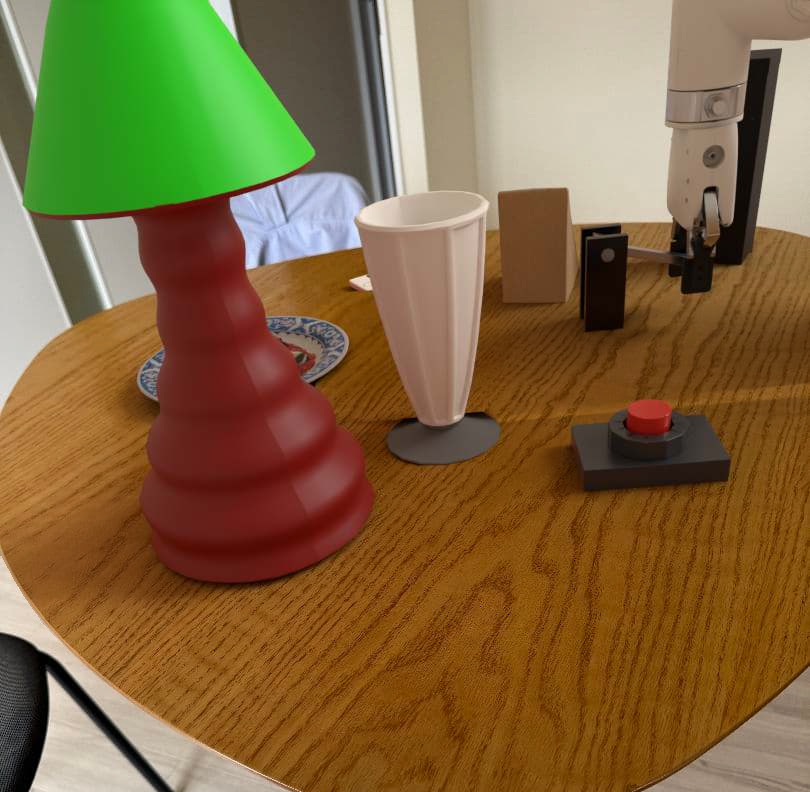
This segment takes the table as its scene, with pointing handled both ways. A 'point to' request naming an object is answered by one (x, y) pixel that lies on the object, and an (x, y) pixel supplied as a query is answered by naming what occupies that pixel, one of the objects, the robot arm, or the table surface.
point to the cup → (431, 316)
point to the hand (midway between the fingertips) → (688, 282)
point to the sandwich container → (536, 245)
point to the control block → (648, 454)
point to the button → (648, 417)
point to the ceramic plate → (303, 336)
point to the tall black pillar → (750, 157)
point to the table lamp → (197, 279)
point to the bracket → (603, 277)
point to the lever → (654, 254)
